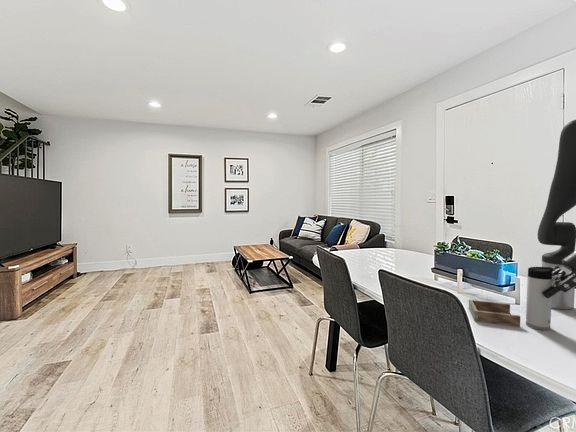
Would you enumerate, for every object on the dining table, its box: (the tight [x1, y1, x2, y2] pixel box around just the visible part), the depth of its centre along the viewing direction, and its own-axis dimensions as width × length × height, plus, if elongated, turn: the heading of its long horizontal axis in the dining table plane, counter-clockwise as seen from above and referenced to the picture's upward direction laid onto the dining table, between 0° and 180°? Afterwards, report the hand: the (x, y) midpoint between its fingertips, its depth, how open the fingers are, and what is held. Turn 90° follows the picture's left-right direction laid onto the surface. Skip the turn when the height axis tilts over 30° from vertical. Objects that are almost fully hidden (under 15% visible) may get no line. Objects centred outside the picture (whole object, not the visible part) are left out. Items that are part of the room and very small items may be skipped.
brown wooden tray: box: [468, 299, 521, 328], centre depth 107 cm, size 13×13×4 cm
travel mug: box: [525, 266, 553, 331], centre depth 98 cm, size 6×7×20 cm
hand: (539, 292), depth 98 cm, fingers open, 8 cm apart
